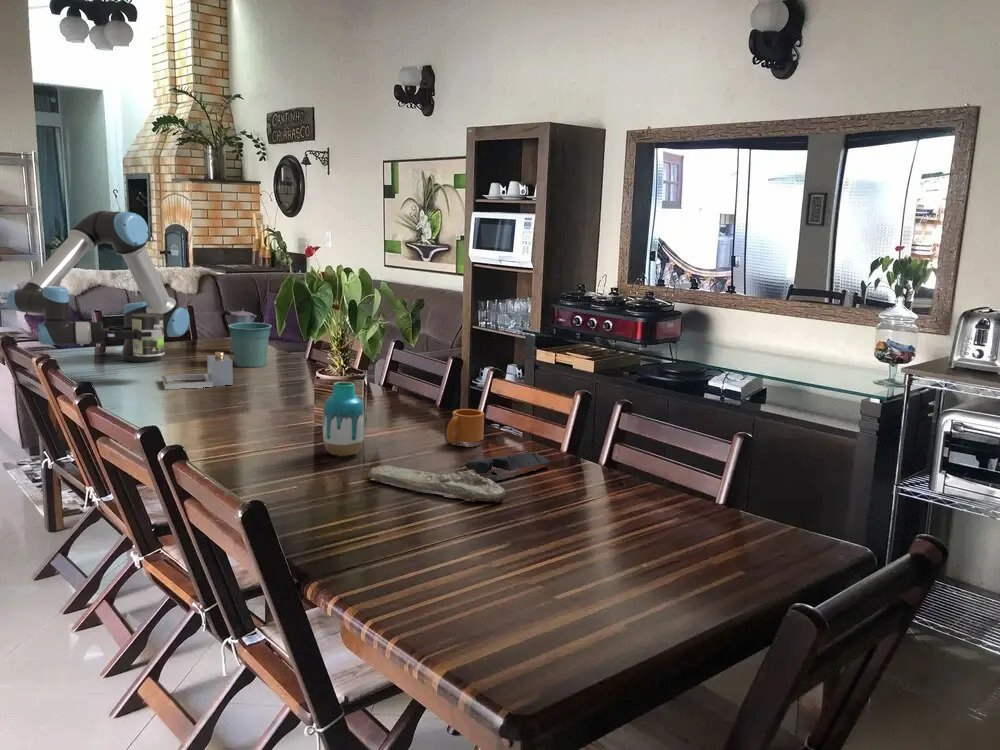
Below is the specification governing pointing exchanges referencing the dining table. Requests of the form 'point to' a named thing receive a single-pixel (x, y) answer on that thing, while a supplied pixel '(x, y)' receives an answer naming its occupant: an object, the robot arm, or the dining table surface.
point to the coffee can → (148, 345)
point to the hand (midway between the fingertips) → (161, 331)
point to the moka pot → (237, 320)
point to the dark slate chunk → (507, 462)
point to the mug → (466, 426)
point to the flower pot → (250, 343)
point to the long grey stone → (440, 481)
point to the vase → (343, 421)
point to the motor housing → (217, 374)
